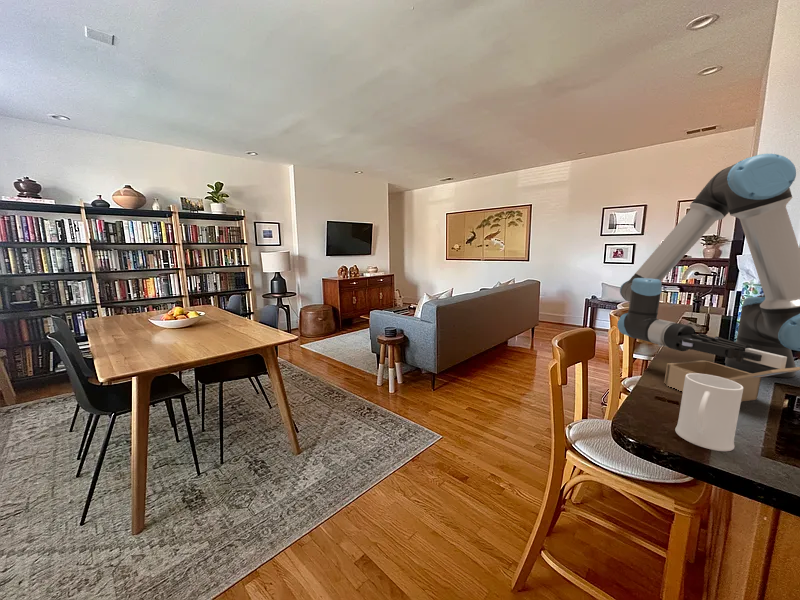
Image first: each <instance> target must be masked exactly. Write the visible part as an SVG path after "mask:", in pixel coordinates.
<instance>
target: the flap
mask: <svg viewBox="0 0 800 600" xmlns="http://www.w3.org/2000/svg"><path fill="white" fill-rule="evenodd" d="M793 371H796V372H798V371H800V366H796V367H795V368H785V369H776V370H768V371H763V372H758V373H751V374H747V375H742V376H737V377H732V378H727V379H729V380H740V379H749V378H758V377H761V378H764V377H771V376H770V375H776V374H782V373H787V372H793Z"/></svg>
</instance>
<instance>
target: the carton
mask: <svg viewBox="0 0 800 600" xmlns="http://www.w3.org/2000/svg"><path fill="white" fill-rule="evenodd" d="M690 373H700V374H708V375H713V376H718V377H722V378H726V379H727V378H732V377H737V376H742V375H747V374H752V373H750V372H746V371H743V370H739V369H736V368H733V367H731V366H728V365H724V364H720V363H716V362H712V361H708V360H702V359H701V360H690V361H681V362H680V361H679V362H671V363H670V362H669V363H666V368H665V376H664V381H663V384H664V383H665V384H666V385H665V384H664V385H665V386H666V387H668V386H669V387H668V388H670V387H672V388H671V389H673V388H675V389H677V390H676V391H678V390H679V392H680V391H682V392H681V393H683V388H684V382H685V376H686V374H690ZM732 381H734V382H737V383H739V384H740V385H742V386H743V394H742V399H741V402H749V401H755V400H758V395H759V392H760V391H759V390H760V386H761V381H762V377H758V378H749V379H740V380H732ZM675 389H674V390H675Z"/></svg>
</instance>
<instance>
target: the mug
mask: <svg viewBox="0 0 800 600" xmlns="http://www.w3.org/2000/svg"><path fill="white" fill-rule="evenodd" d="M742 394H743V386H742V385H740V384H739V383H737V382H734V381H732V380H729V379H726V378H722V377H718V376H713V375H708V374H700V373H690V374H686V376H685V382H684V388H683V392H682V396H681V401H680V407H679V415H678V420H677V423H676V424H677V425H676V427H675V429H674V430H675V433H676V434H677V436H679V437H680V438H682V439H684V440H685V441H687V442H689V443H690V444H693V445H695V446H697V447H701V448H704V449H709V450H711V451H716V452H717V451H718V452H730V451H733V450H734V449H735V438H736V437H735V435H736V431H737V430H736V429H737V426H738V420H739V414H740V410H741V409H740V408H741V404H742V401H741V399H742Z"/></svg>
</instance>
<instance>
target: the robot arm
mask: <svg viewBox="0 0 800 600" xmlns="http://www.w3.org/2000/svg"><path fill="white" fill-rule="evenodd" d="M796 177H797V168H796V166H795V164H794V163H793V162H792V161H791V160H790V159H789V158H788V157H786V156H784V155H781V154H777V153H761V154H757V155H754V156H751V157H746V158H745V159H742V160H740V161H738V162H736V163H734V164H732V165H731V166H727V167H725V168H723V169H721V170H720V171H718V172H717V173H716V174H715V175H714V176H713V177H712V178H711V179H709V181H708V182H707V183H706V184H705V186H703V188H702V189H701V191H700V192H699V193H698V194H697V195H696V197H695V198H694V199H693V200H692V201H691V203H690V204H689V208H690V209H689V210H688V212H686V214H685V215H684V216H683V218H681V220H680V221H679V222H678V223H677V224H676V225H675V227H674V228H673V229H672V230H671V231H670V232H669V234H668V235H667V236H666V237H665V238H664V239H663V241H662V242H661V243H660V244H659V245H658V247H656V249H655V250H653V252H652V253H651V255H649V257H648V258H647V259H646V260H645V261H644V262H643V264H642V265H641V266H640V267H639V268H638V269H637V270H636V272H635V273H634V274H633V275H632V276H631V278H630V279H629V280H627V281H625V282H623V283H622V284H621V286H620V287H619V294H620V296H621V297H622V299H623V300H624V301H625V302H629V305H628V311H627V313H623V314H622V315H620V317H619V320H617V329H618V331H619V333H621V334H622V335H625V336H627V337H630V338H632V339H636V340H641V341H644V342H648V343H651V344H655V345H657V346H658V347H660V348H662V347H665V348H666V347H667V348H668V349H672V350H675V351H678V352H686V351H688V350H693V351H696V352H700V353H705V354H709V355H715V356H719V357H724V358H725V360H724V363H725V365H726V366H727V367H731V368H734V369H738V370H741V371H745V372H748V373H751V374H753V373H758V372H763V371H768V370H776V369H785V368H795V367H797V366H796V363H795V359H794V356H793V352H792V350H793V351H798V352H800V246H799V243H798V240H797V237H796V234H795V231H794V228H793V224H792V222H791V218H790V214H789V212H788V209H787V205H788V204H789V202H790V201H791V200H792V198H793V195H792V191H791V186H792V185H793V184H794V183H793V182H795V179H796ZM728 214H729V215H730V216H731V217H733V218H737V219H739V221H740V224H741V227H742V231H743V234H744V237H745V240H746V242H747V245H748V249H749V252H750V255H751V258H752V262H753V264H754V267H755V269H756V273H757V276H758V280H759V283H760V285H761V288H762V289H761V290H762V292H763V294H764V297H762V296H749V297H746V298H745V299H744V300H743V302H742V306H741V312H740V317H739V322H738V324H739V325H738V329H737V333H736V334H737V336H736V340H735V341H733V340H729V339H726V338H722V337H720V336H714V337H713V336H709V335H707V334H704V333H698V334H697V332H696V330H695V328H694V327H693V326H691V325H687V324H682V323H678V322H674V321H669V320H666V319H665V320H664V319H662V318H661V319H660V318H658V314H659V308H660V300H661V293H662V292H663V290H662V281H663V279H664V278H666V277H667V275H668V274H669V273H670V272H671V271H672V270H673V269H674V268H675V267H676V265H677V264H678V263H679V262H680V261H681V260H682V259H683V258H684V257H685V256H686V255H687V253H688V252H690V250H691V249H692V248H693V247H694V246H695V245H696V244H697V242H699V240H700V239H702V237H703V236H704V235H705V234H706V232H708V230H709V229H710V228H711V227H713V225H714V224H715V223H716V222H717V221H721V220H723V219H724V218H725V217H727V215H728ZM796 372H797V371H793V372H787V373H782V374H776V375H770V376H769V377H773V378H774V377H775V378H788V379H790V378H794V377H796Z"/></svg>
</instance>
